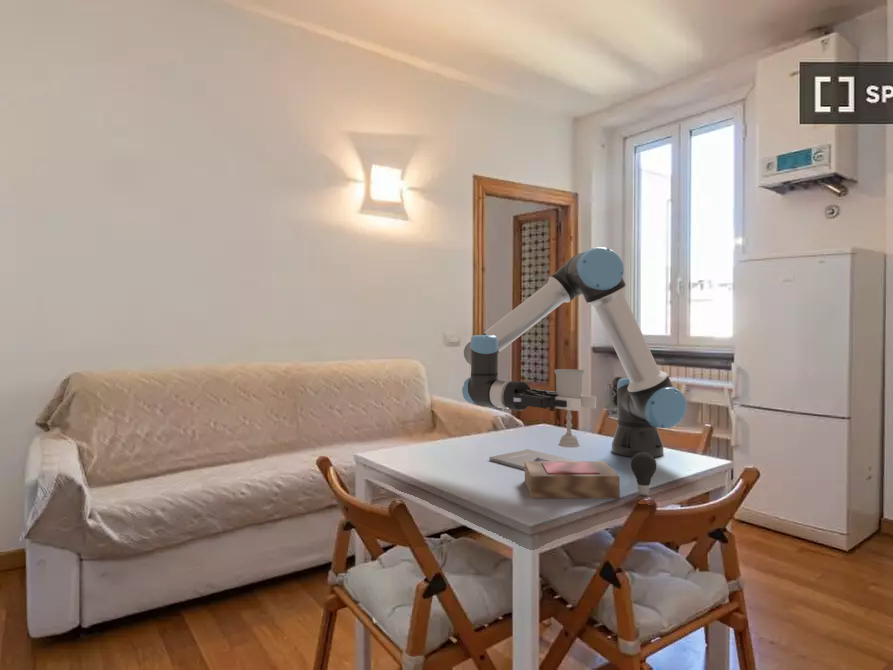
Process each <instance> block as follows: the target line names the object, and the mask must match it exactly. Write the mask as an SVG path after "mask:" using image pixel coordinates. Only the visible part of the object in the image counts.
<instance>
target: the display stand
mask: <svg viewBox="0 0 893 670" xmlns="http://www.w3.org/2000/svg"><path fill="white" fill-rule="evenodd" d="M620 480H621V476H620V475H619V474H618V473H617V472H616V471H615V470H614V469H613V468H612V467H611V466H610V465H609V464H608V463H607V462H606V461H600V460H599V461H598V460H597V461H596V460H594V461H591V460H590V461H589V460H588V461H587V460H586V461H584V460H583V461H580V460H575V461H525V470H524V483H525V485H526V488H527V491H528V492H529V495H530V498H531V499H620V497H621V496H620V495H621V494H620V493H621V487H620V485H621V484H620V483H621V481H620Z"/></svg>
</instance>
